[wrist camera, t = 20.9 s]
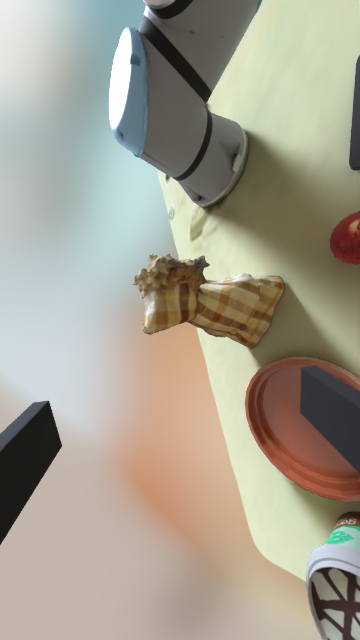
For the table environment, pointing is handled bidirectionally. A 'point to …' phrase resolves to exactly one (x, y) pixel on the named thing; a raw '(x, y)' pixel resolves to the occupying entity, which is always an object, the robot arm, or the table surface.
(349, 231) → the onion
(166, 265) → the plaid fabric bag
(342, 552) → the food container
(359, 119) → the phone
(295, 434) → the terracotta plant saucer
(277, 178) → the table surface
